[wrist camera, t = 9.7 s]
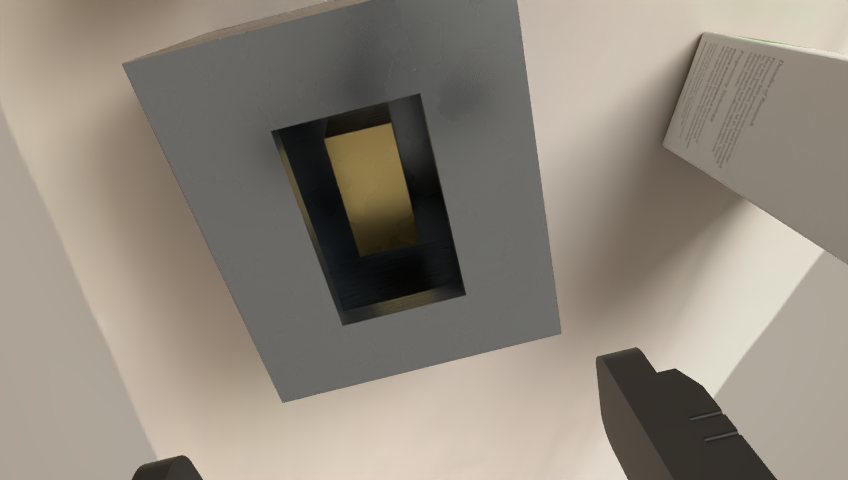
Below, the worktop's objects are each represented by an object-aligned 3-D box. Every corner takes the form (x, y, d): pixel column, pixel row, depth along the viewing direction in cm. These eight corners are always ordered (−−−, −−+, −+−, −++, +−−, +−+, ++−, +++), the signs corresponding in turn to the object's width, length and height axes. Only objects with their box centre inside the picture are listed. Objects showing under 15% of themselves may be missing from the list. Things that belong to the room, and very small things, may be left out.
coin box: (458, -32, 25) (512, -37, 16) (504, 230, 31) (561, 333, 22) (209, 32, 25) (121, 64, 16) (305, 280, 31) (282, 402, 22)
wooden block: (388, 105, 26) (391, 122, 23) (414, 213, 29) (420, 242, 26) (328, 119, 26) (323, 139, 23) (360, 226, 29) (360, 256, 26)
